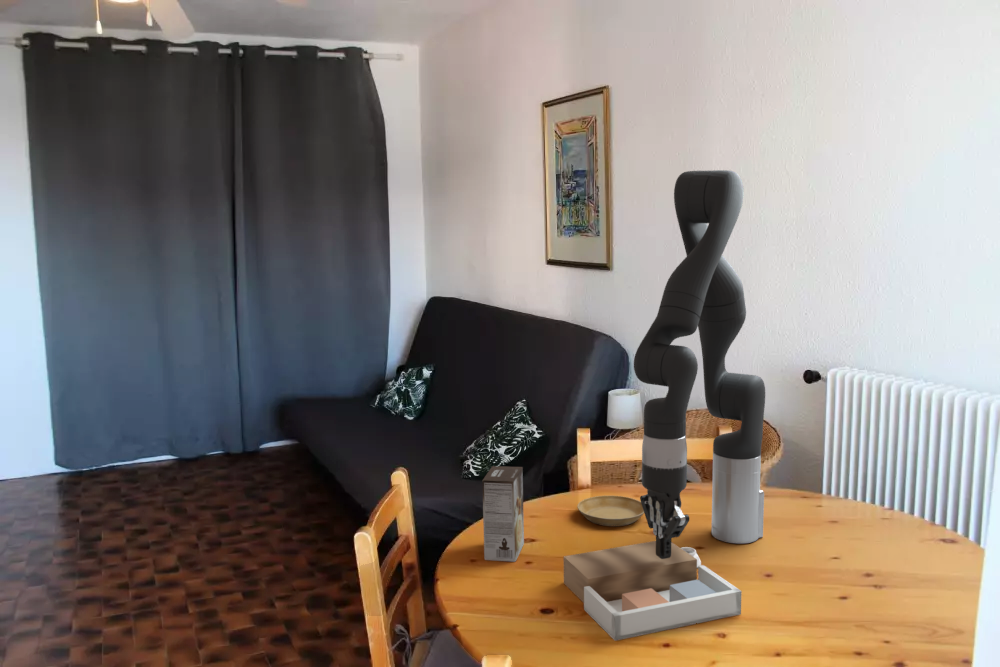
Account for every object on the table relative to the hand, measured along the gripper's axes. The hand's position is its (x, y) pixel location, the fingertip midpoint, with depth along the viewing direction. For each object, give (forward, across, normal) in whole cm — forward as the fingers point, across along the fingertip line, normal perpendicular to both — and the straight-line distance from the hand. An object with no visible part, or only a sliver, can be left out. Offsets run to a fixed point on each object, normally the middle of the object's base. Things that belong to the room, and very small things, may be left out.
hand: (663, 556), depth 146 cm
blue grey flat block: (+2, -8, -1) cm, 9 cm away
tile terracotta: (+2, -8, +8) cm, 12 cm away
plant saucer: (+6, +35, -8) cm, 36 cm away
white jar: (+6, +8, -10) cm, 14 cm away
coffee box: (+6, +26, +20) cm, 33 cm away
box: (+6, -7, +4) cm, 10 cm away
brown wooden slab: (+6, +4, +4) cm, 8 cm away
